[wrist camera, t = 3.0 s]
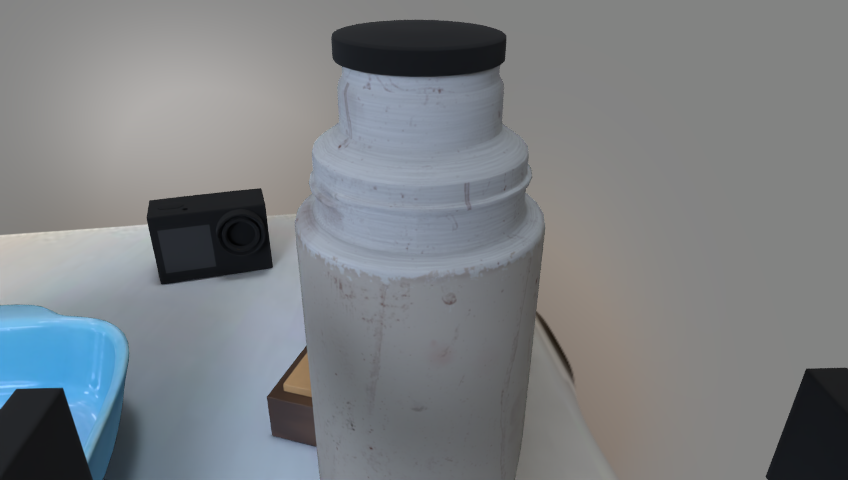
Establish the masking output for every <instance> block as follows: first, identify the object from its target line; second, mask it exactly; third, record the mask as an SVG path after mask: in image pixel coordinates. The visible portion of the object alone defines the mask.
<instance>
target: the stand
mask: <svg viewBox="0 0 848 480" xmlns="http://www.w3.org/2000/svg"><path fill="white" fill-rule="evenodd" d="M267 401H268V408H269V415H270V422H271V429H272V435H273V436H276V437H280V438H284V439H288V440H292V441H296V442H300V443H304V444H308V445H312V446H316V447H317V444H316V434H315V424H314V414H313V404H312V394H311V383H310V373H309V363H308V353H307V346H306V347H305V348H304V350H303V351H302V352H301V353H300V355H299V356H298V357H297V359H296V360H295V361H294V363H293V364H292V365H291V366H290V368H289V369H288V370H287V372H286V373H285V374H284V375H283V377H282V378H281V379H280V381H279V382H278V383H277V385H276V386H275V387H274V388H273V390H272V391H271V392H270V394H269V395H268V396H267Z"/></svg>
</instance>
